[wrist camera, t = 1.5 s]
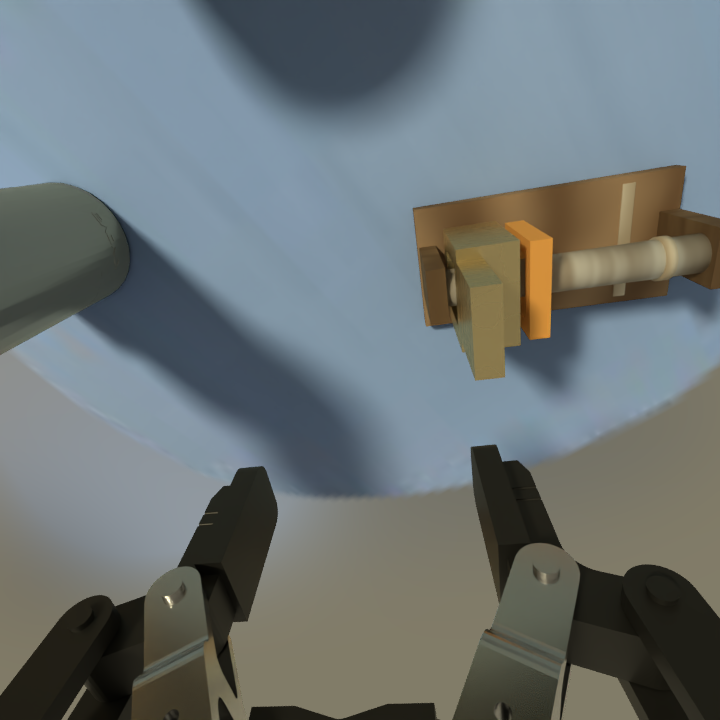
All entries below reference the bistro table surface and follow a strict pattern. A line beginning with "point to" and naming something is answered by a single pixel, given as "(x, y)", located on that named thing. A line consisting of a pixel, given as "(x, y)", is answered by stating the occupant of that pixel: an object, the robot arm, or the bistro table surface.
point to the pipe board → (585, 239)
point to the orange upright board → (535, 278)
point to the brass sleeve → (485, 294)
